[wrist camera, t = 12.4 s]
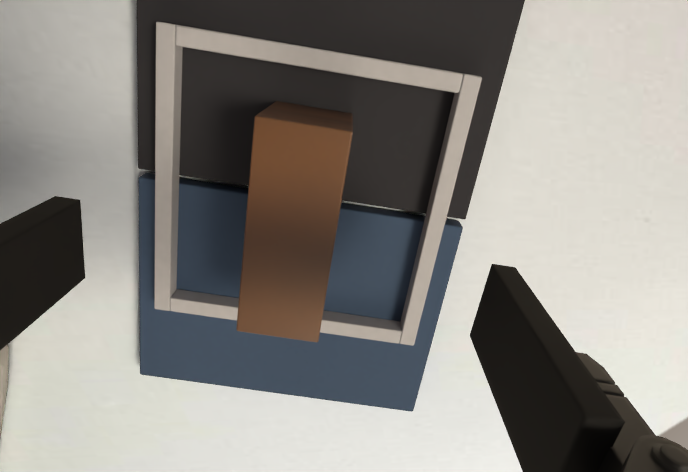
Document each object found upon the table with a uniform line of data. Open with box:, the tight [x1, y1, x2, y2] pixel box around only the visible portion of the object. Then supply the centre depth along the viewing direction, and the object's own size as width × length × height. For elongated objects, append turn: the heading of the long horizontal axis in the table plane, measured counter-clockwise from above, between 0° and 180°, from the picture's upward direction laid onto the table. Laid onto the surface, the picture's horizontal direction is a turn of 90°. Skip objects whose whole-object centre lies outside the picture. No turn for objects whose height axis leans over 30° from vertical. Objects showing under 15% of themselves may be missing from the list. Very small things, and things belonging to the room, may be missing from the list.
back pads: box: [137, 0, 525, 411], centre depth 23 cm, size 24×16×2 cm, turn 171°
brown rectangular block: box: [236, 101, 353, 342], centre depth 20 cm, size 9×4×5 cm, turn 171°
